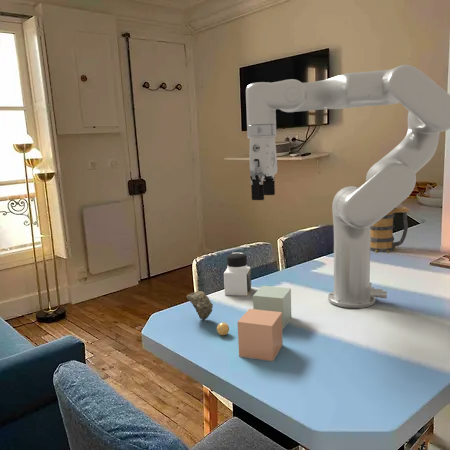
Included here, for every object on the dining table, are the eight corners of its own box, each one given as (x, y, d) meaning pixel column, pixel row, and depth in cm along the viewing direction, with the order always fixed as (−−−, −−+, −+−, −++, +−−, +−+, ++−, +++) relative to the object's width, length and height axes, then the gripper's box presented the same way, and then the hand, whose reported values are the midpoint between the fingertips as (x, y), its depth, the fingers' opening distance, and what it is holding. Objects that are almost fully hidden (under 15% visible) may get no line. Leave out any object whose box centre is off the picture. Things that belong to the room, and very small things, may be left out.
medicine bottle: (248, 296, 132) (246, 257, 129) (224, 295, 133) (222, 257, 131) (251, 288, 139) (250, 251, 136) (229, 287, 140) (227, 250, 138)
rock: (183, 290, 112) (198, 281, 113) (188, 301, 119) (202, 291, 120) (198, 313, 109) (213, 303, 110) (202, 322, 116) (216, 312, 117)
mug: (369, 245, 184) (369, 197, 180) (413, 249, 174) (414, 199, 171) (358, 252, 174) (359, 202, 170) (404, 257, 164) (406, 203, 160)
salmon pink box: (282, 345, 99) (281, 312, 98) (273, 361, 93) (272, 325, 91) (250, 341, 102) (249, 308, 101) (239, 356, 95) (237, 321, 94)
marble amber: (229, 335, 107) (232, 323, 107) (224, 338, 104) (227, 325, 104) (218, 331, 108) (221, 319, 108) (213, 334, 106) (216, 322, 105)
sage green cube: (291, 317, 115) (290, 288, 113) (283, 329, 108) (282, 298, 106) (263, 314, 118) (262, 285, 116) (254, 325, 111) (252, 295, 109)
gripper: (265, 131, 106) (267, 202, 109) (284, 131, 122) (285, 193, 125) (236, 133, 109) (239, 202, 112) (258, 132, 125) (260, 193, 128)
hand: (263, 197), depth 119 cm, fingers open, 9 cm apart
